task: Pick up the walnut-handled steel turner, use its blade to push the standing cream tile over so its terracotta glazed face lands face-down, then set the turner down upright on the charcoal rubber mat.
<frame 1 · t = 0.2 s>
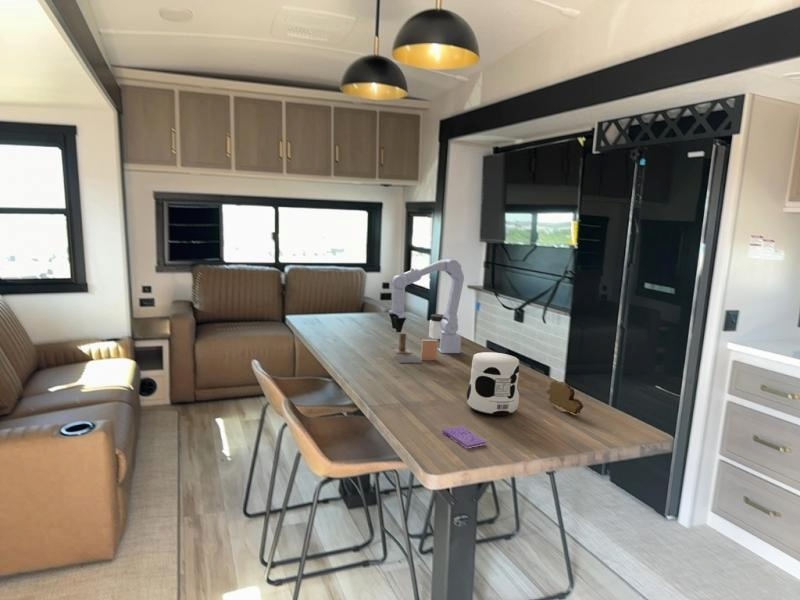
hand: (396, 330, 248), 10 cm above the table, fingers open, 7 cm apart
milk container: (491, 410, 180), on the table
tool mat: (408, 360, 235), on the table
tile: (428, 359, 238), on the table
sponges: (463, 441, 155), on the table
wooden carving: (562, 411, 183), on the table
turner: (401, 351, 251), on the table
jar: (437, 338, 283), on the table
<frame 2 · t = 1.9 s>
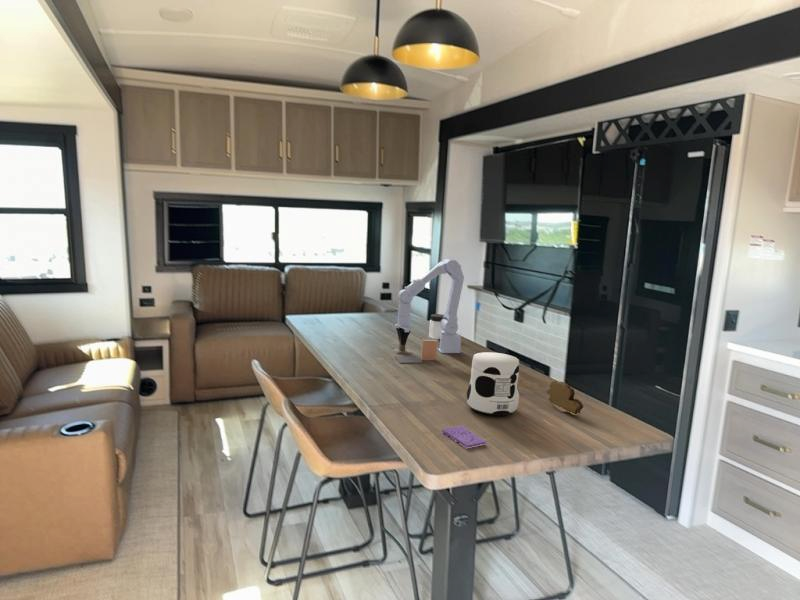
hand: (402, 344, 250), 3 cm above the table, fingers closed on turner, 2 cm apart
turner: (401, 351, 251), on the table, touching gripper
everything else where it was.
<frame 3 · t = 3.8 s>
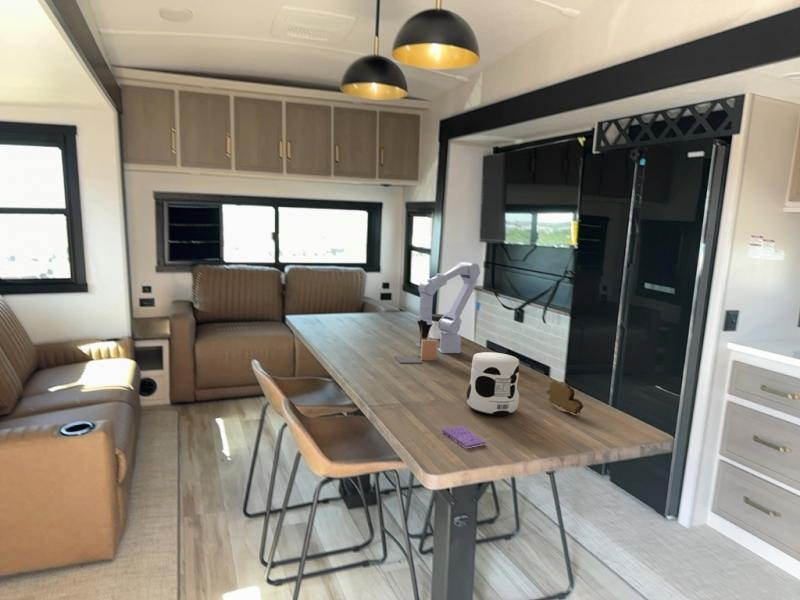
hand: (423, 336, 246), 8 cm above the table, fingers closed on turner, 2 cm apart
turner: (422, 345, 246), point 4 cm above the table, touching gripper
everything else where it was.
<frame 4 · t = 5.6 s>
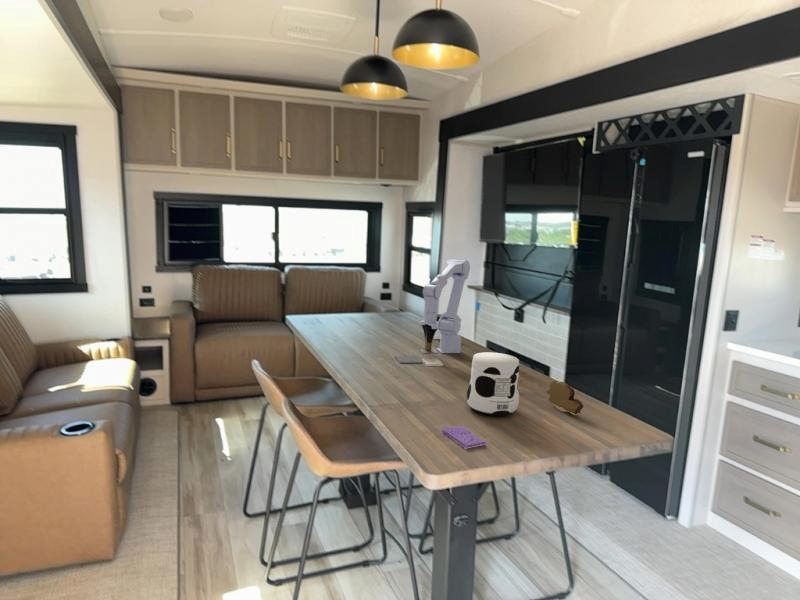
hand: (428, 341, 239), 8 cm above the table, fingers closed on turner, 2 cm apart
tile: (429, 359, 237), on the table, tilted 90°
turner: (427, 351, 239), point 3 cm above the table, touching gripper
everything else where it was.
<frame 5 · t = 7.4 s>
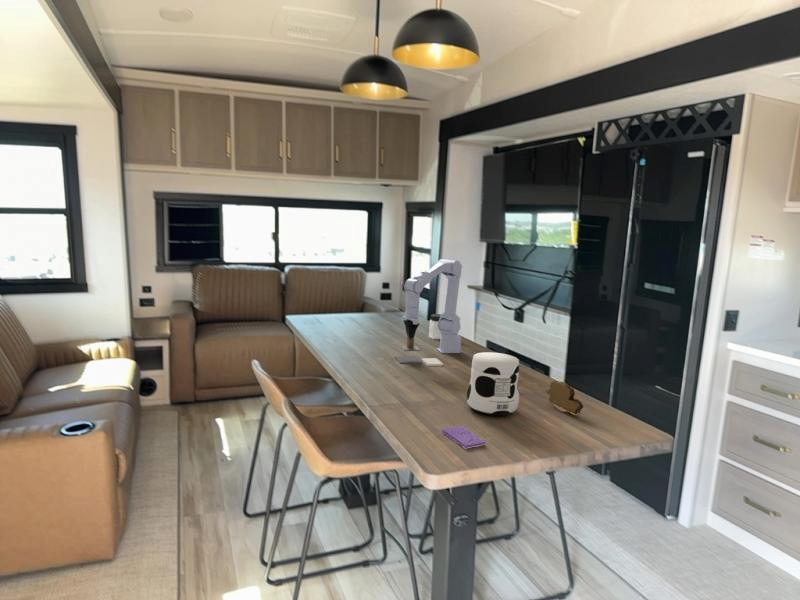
hand: (410, 337, 233), 10 cm above the table, fingers closed on turner, 2 cm apart
turner: (410, 348, 234), point 5 cm above the table, touching gripper
everything else where it was.
when the fingers open (5 cm above the table, at t = 8.6 s): turner stays where it is, resting on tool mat.
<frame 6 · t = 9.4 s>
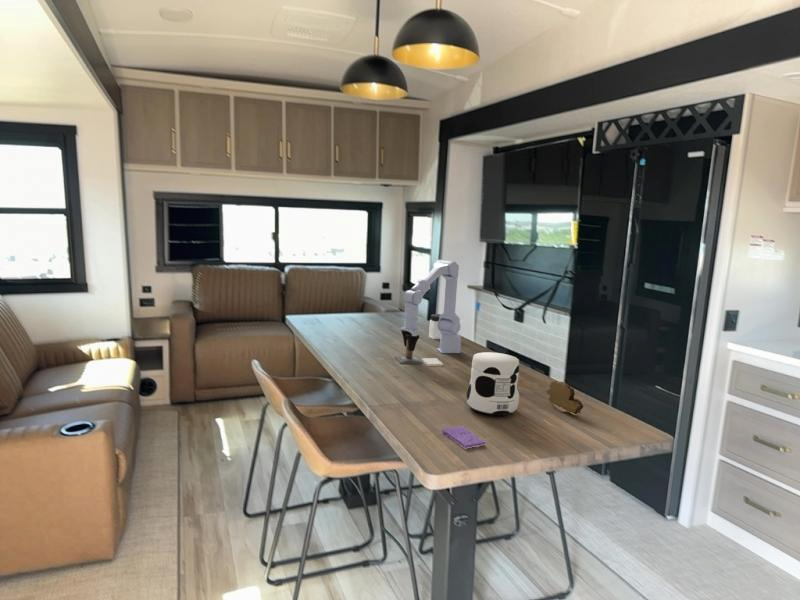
hand: (409, 348, 234), 5 cm above the table, fingers open, 7 cm apart
turner: (408, 359, 235), point 1 cm above the table, touching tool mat
everything else where it was.
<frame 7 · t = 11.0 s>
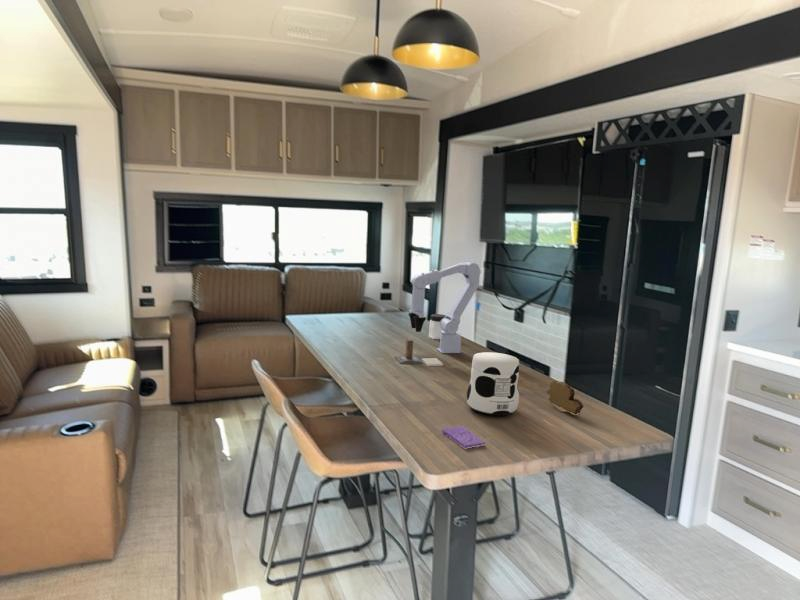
hand: (416, 329, 249), 10 cm above the table, fingers open, 7 cm apart
nothing on the table moved.
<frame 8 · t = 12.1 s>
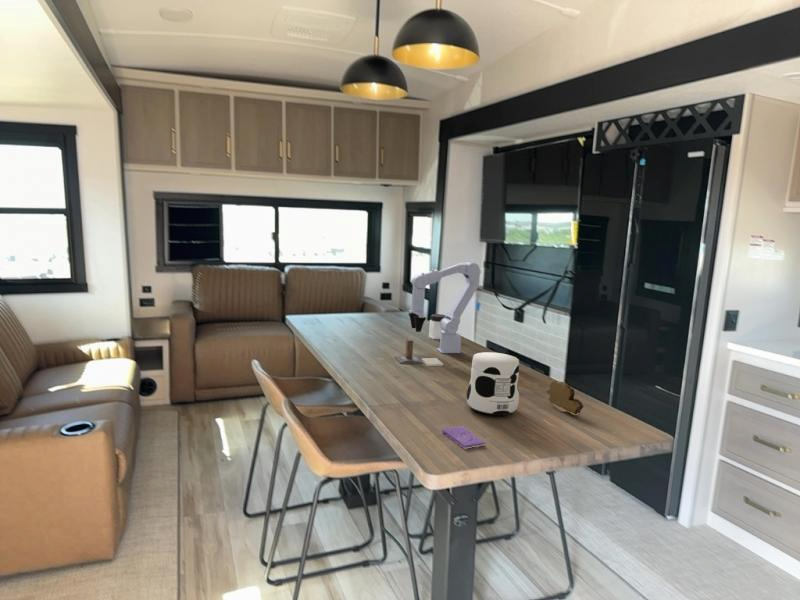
hand: (416, 329, 249), 10 cm above the table, fingers open, 7 cm apart
nothing on the table moved.
at the end: tile tilted 90°; turner inside the target area on the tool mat (0.1 cm from its centre), point 0.6 cm above the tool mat's base; turner tilted 0° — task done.
